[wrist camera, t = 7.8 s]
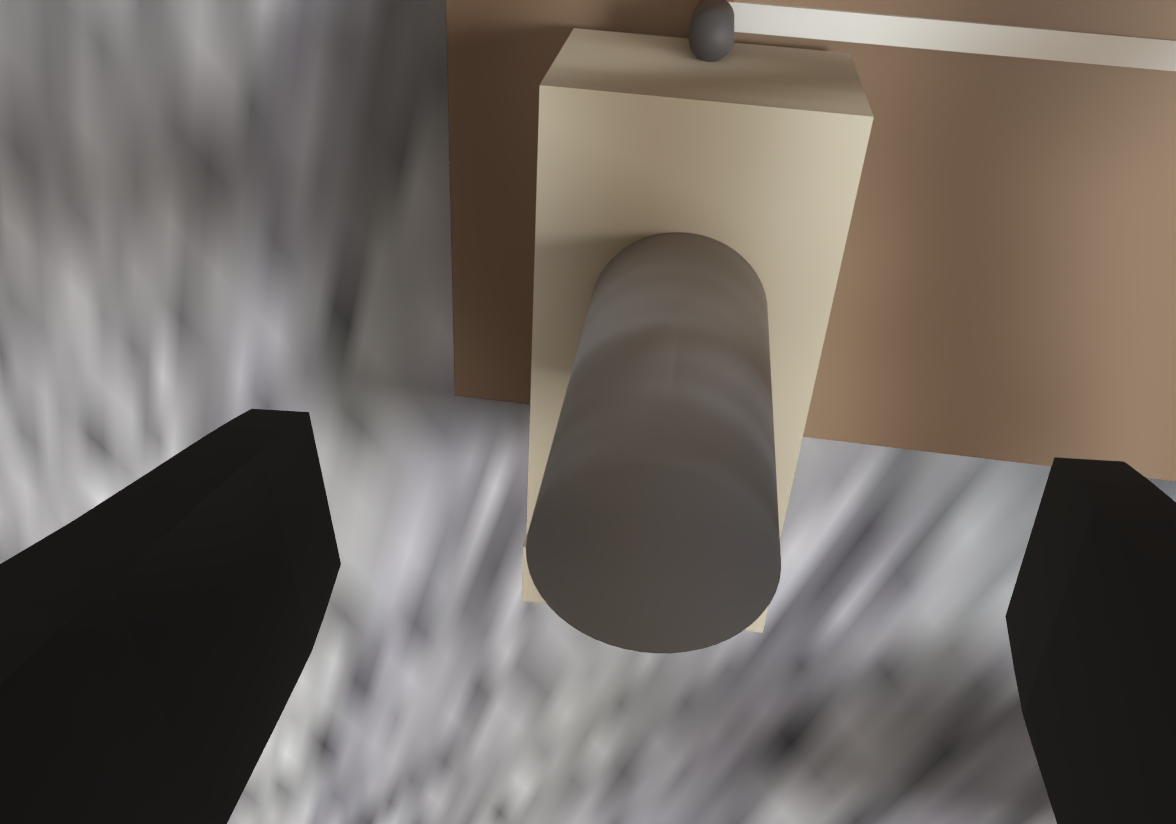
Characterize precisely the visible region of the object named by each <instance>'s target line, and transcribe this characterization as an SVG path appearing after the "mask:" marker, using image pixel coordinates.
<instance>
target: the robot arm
mask: <svg viewBox="0 0 1176 824" xmlns="http://www.w3.org/2000/svg"><path fill="white" fill-rule="evenodd" d="M340 565H341V562H340V558H339V553H338V548H337V543H336V539H335V534H334V529H333V525H332V520H331V515H330V510H329V506H328V501H327V496H326V491H325V487H324V482H323V477H322V472H321V468H320V463H319V458H318V454H317V449H316V444H315V439H314V435H313V430H312V425H311V420H310V416H309V412H295V411H279V410H262V409H251V410H249V411H247V412H245V413H243V414H242V415H240V416H238V417H236V418H234V419H232V420H231V421H229V422H227V423H226V424H224V425H222V426H221V427H219V428H217V429H216V430H214V431H213V432H211V433H209V434H208V435H206V436H205V437H203V438H201V439H200V440H198V441H197V442H195V443H194V444H192V445H190V446H189V447H187V448H186V449H184V450H183V451H181V452H180V453H178V454H176V455H175V456H173V457H172V458H170V459H169V460H167V461H166V462H164V463H163V464H161V465H160V466H158V467H156V468H155V469H153V470H152V471H150V472H149V473H147V474H146V475H144V476H143V477H141V478H139V479H138V480H136V481H135V482H133V483H132V484H130V485H129V486H127V487H125V488H124V489H122V490H121V491H119V492H118V493H116V494H114V495H113V496H111V497H110V498H108V499H107V500H105V501H104V502H102V503H100V504H99V505H97V506H96V507H94V508H93V509H91V510H89V511H88V512H86V513H85V514H83V515H82V516H80V517H79V518H77V519H75V520H74V521H72V522H71V523H69V524H67V525H66V526H64V527H62V528H61V529H59V530H57V531H56V532H54V533H52V534H50V535H49V536H47V537H45V538H44V539H42V540H40V541H39V542H37V543H35V544H34V545H32V546H30V547H29V548H27V549H25V550H23V551H22V552H20V553H18V554H17V555H15V556H13V557H12V558H10V559H8V560H7V561H5V562H3V563H1V564H0V824H227V822H228V820H229V818H230V816H231V814H232V812H233V810H234V808H235V806H236V804H237V802H238V800H239V798H240V796H241V794H242V792H243V790H244V788H245V786H246V784H247V782H248V780H249V778H250V776H251V774H252V772H253V770H254V768H255V766H256V764H257V762H258V760H259V758H260V756H261V754H262V752H263V750H264V748H265V746H266V744H267V742H268V740H269V738H270V736H271V734H272V732H273V730H274V728H275V726H276V724H277V722H278V720H279V718H280V716H281V714H282V712H283V709H284V707H285V705H286V703H287V701H288V699H289V697H290V695H291V693H292V691H293V689H294V687H295V685H296V683H297V681H298V679H299V677H300V675H301V673H302V670H303V668H304V666H305V664H306V662H307V660H308V658H309V656H310V653H311V651H312V649H313V646H314V643H315V640H316V638H317V635H318V632H319V629H320V626H321V623H322V621H323V618H324V615H325V612H326V609H327V606H328V603H329V600H330V596H331V593H332V590H333V587H334V584H335V581H336V577H337V574H338V571H339V568H340ZM1006 622H1007V628H1008V634H1009V640H1010V646H1011V652H1012V659H1013V665H1014V671H1015V676H1016V681H1017V686H1018V692H1019V697H1020V702H1021V707H1022V712H1023V716H1024V720H1025V723H1026V726H1027V729H1028V733H1029V736H1030V739H1031V743H1032V746H1033V749H1034V752H1035V755H1036V758H1037V762H1038V765H1039V768H1040V771H1041V774H1042V777H1043V781H1044V784H1045V787H1046V790H1047V793H1048V796H1049V799H1050V803H1051V806H1052V809H1053V812H1054V815H1055V818H1056V821H1057V824H1176V502H1175V501H1173V500H1172V499H1171V498H1170V497H1169V496H1167V495H1166V494H1165V493H1164V492H1163V491H1161V490H1160V489H1159V488H1158V487H1157V486H1155V485H1154V484H1153V483H1152V482H1150V481H1149V480H1148V479H1147V478H1145V477H1144V476H1143V475H1142V474H1140V473H1139V472H1138V471H1136V470H1135V469H1134V468H1132V467H1131V466H1130V465H1128V464H1127V463H1126V462H1124V461H1108V460H1091V459H1075V458H1058V457H1054V460H1053V464H1052V467H1051V470H1050V473H1049V477H1048V480H1047V483H1046V486H1045V490H1044V493H1043V496H1042V499H1041V503H1040V506H1039V509H1038V512H1037V516H1036V519H1035V522H1034V525H1033V529H1032V532H1031V535H1030V539H1029V542H1028V545H1027V548H1026V552H1025V555H1024V558H1023V561H1022V565H1021V568H1020V571H1019V574H1018V578H1017V581H1016V584H1015V587H1014V591H1013V594H1012V597H1011V600H1010V604H1009V607H1008V610H1007V613H1006Z"/></svg>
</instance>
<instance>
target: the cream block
mask: <svg viewBox="0 0 1176 824" xmlns="http://www.w3.org/2000/svg"><path fill="white" fill-rule="evenodd" d="M873 118H874V116H873V113H872V111H871V108H870V105H869V103H868V100H867V97H866V95H865V92H864V89H863V87H862V84H861V81H860V79H859V76H858V73H857V70H856V68H855V65H854V62H853V60H852V57H851V54H850V53H843V52H832V51H821V50H810V49H799V48H788V47H777V46H766V45H755V44H744V43H734V11H733V9H732V6H731V5H730V4H729V2H727V1H726V0H702V1H700V2H699V3H698V5H697V6H696V7H695V9H694V12H693V15H692V21H691V27H690V32H689V38H678V37H667V36H655V35H644V34H633V33H622V32H611V31H600V30H589V29H578V28H574V29H573V30H572V32H571V34H570V35H569V37H568V39H567V40H566V42H565V44H564V45H563V47H562V49H561V50H560V52H559V54H558V55H557V57H556V59H555V60H554V62H553V64H552V65H551V67H550V69H549V70H548V72H547V74H546V75H545V77H544V79H543V80H542V82H541V84H540V88H539V122H538V157H537V191H536V225H535V260H534V294H533V329H532V363H531V398H530V432H529V466H528V501H527V534H526V538H525V542H524V545H523V572H522V601H530V602H537V603H544V604H548V606H549V607H550V608H551V609H552V610H553V611H554V612H555V613H556V614H557V615H558V616H559V617H561V618H562V619H563V620H565V621H566V622H567V623H568V624H570V625H571V626H573V627H574V628H576V629H577V630H579V631H581V632H582V633H584V634H586V635H588V636H590V637H592V638H594V639H596V640H599V641H602V642H604V643H607V644H609V645H613V646H616V647H620V648H623V649H628V650H634V651H639V652H649V653H678V652H688V651H693V650H698V649H703V648H706V647H709V646H712V645H716V644H718V643H721V642H723V641H725V640H728V639H730V638H731V637H733V636H735V635H737V634H739V633H740V632H742V631H743V630H746V631H753V632H761V633H763V629H764V624H765V620H766V615H767V611H768V606H769V604H770V602H771V600H772V598H773V596H774V595H775V593H776V589H777V586H778V583H779V579H780V572H781V555H780V537H781V533H782V528H783V524H784V519H785V515H786V510H787V506H788V501H789V497H790V492H791V488H792V483H793V479H794V474H795V470H796V465H797V461H798V456H799V451H800V447H801V442H802V438H803V433H804V429H805V424H806V420H807V415H808V411H809V406H810V402H811V397H812V393H813V388H814V384H815V379H816V375H817V370H818V366H819V361H820V357H821V352H822V348H823V343H824V339H825V334H826V330H827V325H828V321H829V316H830V312H831V307H832V303H833V298H834V294H835V289H836V285H837V280H838V276H839V271H840V267H841V262H842V258H843V253H844V249H845V244H846V240H847V235H848V231H849V226H850V222H851V217H852V213H853V208H854V204H855V199H856V195H857V190H858V186H859V181H860V177H861V172H862V168H863V163H864V159H865V154H866V150H867V145H868V141H869V136H870V132H871V127H872V123H873Z"/></svg>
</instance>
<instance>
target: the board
mask: <svg viewBox="0 0 1176 824" xmlns="http://www.w3.org/2000/svg"><path fill="white" fill-rule="evenodd" d="M700 1H702V0H446V26H447V70H448V113H449V157H450V201H451V245H452V289H453V333H454V377H455V395H458V396H466V397H475V398H483V399H491V400H500V401H508V402H516V403H525V404H530V398H531V363H532V329H533V294H534V260H535V225H536V191H537V157H538V122H539V88H540V84H541V82H542V80H543V79H544V77H545V75H546V74H547V72H548V70H549V69H550V67H551V65H552V64H553V62H554V60H555V59H556V57H557V55H558V54H559V52H560V50H561V49H562V47H563V45H564V44H565V42H566V40H567V39H568V37H569V35H570V34H571V32H572V30H573V29H574V28H578V29H589V30H600V31H611V32H622V33H633V34H644V35H655V36H667V37H678V38H689V32H690V27H691V21H692V15H693V12H694V9H695V7H696V6H697V5H698V3H699V2H700ZM726 1H727V2H729V4H730V5H731V6H732V9H733V11H734V43H744V44H755V45H766V46H777V47H788V48H799V49H810V50H821V51H832V52H843V53H850V54H851V57H852V60H853V62H854V65H855V68H856V70H857V73H858V76H859V79H860V81H861V84H862V87H863V89H864V92H865V95H866V97H867V100H868V103H869V105H870V108H871V111H872V113H873V116H874V118H873V123H872V127H871V132H870V136H869V141H868V145H867V150H866V154H865V159H864V163H863V168H862V172H861V177H860V181H859V186H858V190H857V195H856V199H855V204H854V208H853V213H852V217H851V222H850V226H849V231H848V235H847V240H846V244H845V249H844V253H843V258H842V262H841V267H840V271H839V276H838V280H837V285H836V289H835V294H834V298H833V303H832V307H831V312H830V316H829V321H828V325H827V330H826V334H825V339H824V343H823V348H822V352H821V357H820V361H819V366H818V370H817V375H816V379H815V384H814V388H813V393H812V397H811V402H810V406H809V411H808V415H807V420H806V424H805V429H804V433H803V437H810V438H819V439H827V440H835V441H844V442H852V443H860V444H869V445H877V446H886V447H894V448H902V449H911V450H919V451H928V452H936V453H944V454H953V455H961V456H970V457H978V458H986V459H995V460H1003V461H1011V462H1020V463H1028V464H1037V465H1045V466H1052V464H1053V460H1054V457H1058V458H1075V459H1091V460H1108V461H1124V462H1126V463H1127V464H1128V465H1130V466H1131V467H1132V468H1134V469H1135V470H1136V471H1138V472H1139V473H1140V474H1142V475H1143V476H1144V477H1146V478H1154V479H1163V480H1171V481H1176V0H726Z"/></svg>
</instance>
